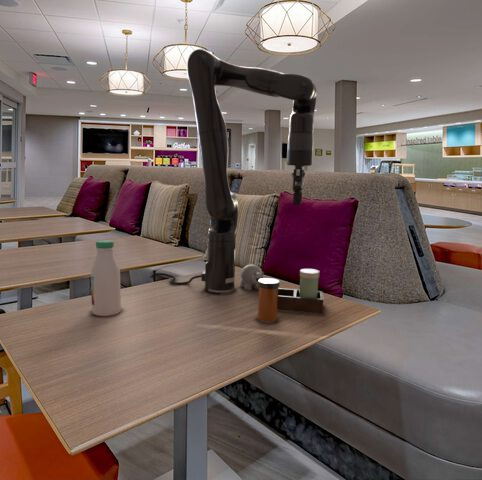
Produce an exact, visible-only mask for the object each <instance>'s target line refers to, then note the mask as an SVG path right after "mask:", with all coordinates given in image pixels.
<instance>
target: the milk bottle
mask: <svg viewBox="0 0 482 480" xmlns="http://www.w3.org/2000/svg"><path fill="white" fill-rule="evenodd" d="M114 243H115V242H114V241H113V240H110V239H103V240H102V239H101V240H96V242H95V250H96V256H95V259H94V261H93V263H92V266H91V269H90V292H91V293H90V294H91V311H92V312H91V313H92V314H93V315H95V316H97V317H109V316H114V315H116V314H119V313H120V312H121V310H122V295H121V291H122V289H121V270H120V265H119V264H118V261H117V260H116V257H115V254H114V249H115V248H114V246H115V244H114Z"/></svg>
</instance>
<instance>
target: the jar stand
mask: <svg viewBox="0 0 482 480" xmlns="http://www.w3.org/2000/svg"><path fill="white" fill-rule="evenodd" d="M299 291H300V289H297V288H282V287H279V288H278V310H277V311H288V312H298V313H299V312H300V313H310V314H321V315H323V313H324V311H323V310H324V292H323V291H322V290H318V294H317V299H316V298H304V297H299Z"/></svg>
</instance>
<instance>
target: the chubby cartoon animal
mask: <svg viewBox="0 0 482 480" xmlns="http://www.w3.org/2000/svg"><path fill="white" fill-rule="evenodd" d="M264 274H265V272H264V271H262V269H261V268H260V267H259V266H258V265H256V264H247V265H245V266H244V267H243V268H242V270H241V272H240V278H241V280H240V283H239V284H240V287H241V288H244V290H246V291H252V290H253V289H254V290H259V286H258V280H259V279H262V278H265V276H264Z"/></svg>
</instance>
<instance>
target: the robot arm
mask: <svg viewBox="0 0 482 480" xmlns="http://www.w3.org/2000/svg"><path fill="white" fill-rule="evenodd" d="M186 72H187V78H188V81H189V85H190V89H191V94H192V100H193V106H194V107H193V108H194V115H195V122H196V123H195V124H196V133H197V141H198V146H199V153H200V160H201V165H202V171H203V177H204V195H205V196H204V198H205V199H204V201H205V210H206V212H207V214H208V215H209V216H210V217H209V227H208V230H207V244H206V245H207V249H206V250H207V252H206V254H207V255H206V262H205V266H204V267H205V268H204V270H203V272H202V273H201V274H199V275H194V276H191V278H189V280H188V281H182V282H177V281H175V280H176V276H175V275H171V274H168V273H164V272H157V273H156V272H155V273H153V274H152V275H150V278H151V279H152V278H154V277H156V276H165V277H168V278H171V279H170V280H169V283H170V284H172V285H179V286H180V285H187V284H190V283H191V282H192V281H193V280H195V279H200V278H201V280H200V281H201V282H204V291H205V292H207V293H211V294H217V295H221V294H227V293H232V292H234V291H235V277H236V242H237V240H236V239H237V232H238V222H239V201H238V198H237V196H236V194H235V193H234V192H232V191H231V189H230V184H229V177H228V164H229V149H230V145H229V137H228V130H227V129H228V127H227V124H226V121H225V116H224V114H223V112H222V109H221V107H220V104H219V102H218V99H217V93H216V87H215V86H221V87H222V86H223V87H230V88H237V89H241V90H244V91H248V92H251V93H255V94H259V95H263V96H266V97H271V98H282V99H287V100H291V101H292V112H291V114H290V116H289V124H288V138H287V146H286V147H287V149H286V165H287V166H294V168H293V171H292V172H291V186H292V193H293V194H292V195H293V197H292V205H293V206H301V204H302V201H303V200H302V199H303V190H304V186H305V180H306V175H307V174H306V171H305V169H304V167H310V166H312V165H313V158H314V126H315V125H314V123H315V122H314V121H315V119H314V117H315V111H316V105H317V95H318V94H317V93H318V91H317V86H316V85H315V83H314V82H313V81H312V79H311V78H310V77H308V76H305V75H301V74H297V73H296V74H295V73H283V72H279V71H276V70H271V69H266V68H261V67H251V66H249V67H247V66H241V65H240V66H239V65H235V64H232V63H229V62H226V61H225V60H222V59H220V58H218V57H217V56H216V55H214V54H213V53H211V52H209V51H208V50H205V49H201V48H198V49H197V48H196V49H194V50H193V51H192V52H191V53H190V54H189V56H188V58H187V61H186Z"/></svg>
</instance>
